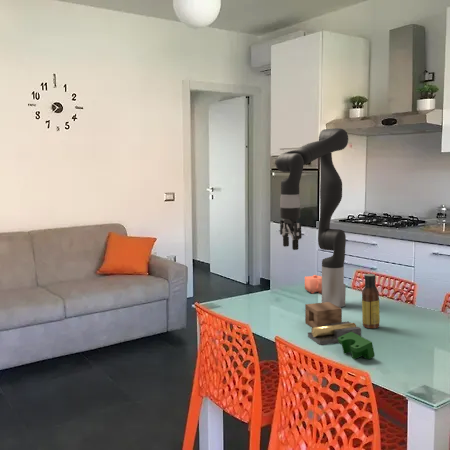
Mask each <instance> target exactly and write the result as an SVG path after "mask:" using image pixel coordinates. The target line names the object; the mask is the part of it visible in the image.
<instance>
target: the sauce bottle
mask: <svg viewBox="0 0 450 450" xmlns="http://www.w3.org/2000/svg"><path fill="white" fill-rule="evenodd" d="M363 276H364V277H363V278H364V287H363V289H362V290H361V296H362V297H361V310H362V311H361V312H362V314H361V316H362V320H361V321H362V325H363V327H364V328H366V329H372V330H375V329H379V327H380V323H381V320H380V317H381V316H380V297H379V295H380V293H379V290H378V289H377V286H376V285H377V284H376V278H377V277H376V274H374V273H365V274H364V275H363Z"/></svg>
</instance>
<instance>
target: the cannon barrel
mask: <svg viewBox="0 0 450 450" xmlns="http://www.w3.org/2000/svg"><path fill="white" fill-rule="evenodd" d="M351 327H358V326H357V324H356V323H355V322H350V323H348V324H339V325H331V326H322V327H313V328H312V327H311V331H310V332H312V335H313V337H318V336H326V335H334V330H335V329H343V328H351Z"/></svg>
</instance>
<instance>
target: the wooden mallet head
mask: <svg viewBox="0 0 450 450" xmlns="http://www.w3.org/2000/svg"><path fill="white" fill-rule="evenodd" d="M304 306H305V310H304V311H305V313H304V314H305V315H304V317H305V320H304V321H305V325H307V326H309V327H310V328H311V329H312V328H313V327H322V326H325V324H330V323H339V322H343V317H342V315H343V307H338V306H336V305H334V304H332V303H330V302H324V303H322V302H316V303H307V304H305V305H304Z"/></svg>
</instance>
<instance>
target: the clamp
mask: <svg viewBox="0 0 450 450" xmlns="http://www.w3.org/2000/svg"><path fill="white" fill-rule="evenodd" d="M338 342H339V343H338V344H340V345H341V347H342V352H343V354H344V355H345V354H348V353H351V357H352V359H353V360H355V359H358V358H360V357H363V358H365V359H367V360H370V359H373V358H374V357H375V356H376V355H375V350H374V345H373V344H374V343H373V342H372V341H371V340H369V339H366V338H365V337H363V336H362V335H361V336H359V335H357V334H355V333H353V332H349V333H347V334H345V335H342V336H340V337H338Z"/></svg>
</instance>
